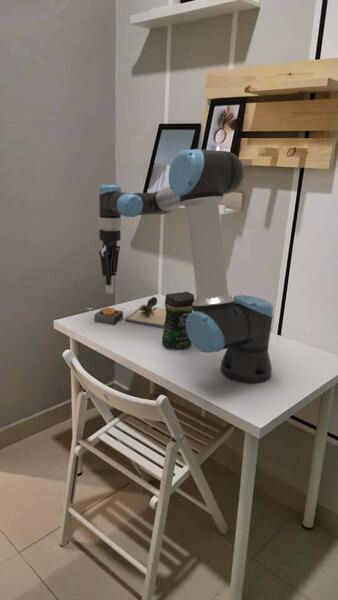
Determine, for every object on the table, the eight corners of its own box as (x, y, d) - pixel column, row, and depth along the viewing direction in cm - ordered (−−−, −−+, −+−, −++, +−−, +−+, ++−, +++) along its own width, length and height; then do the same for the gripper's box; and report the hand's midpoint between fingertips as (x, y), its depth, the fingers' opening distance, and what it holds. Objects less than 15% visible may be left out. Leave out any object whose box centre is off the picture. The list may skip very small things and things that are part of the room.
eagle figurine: (161, 315, 180) (161, 304, 188) (152, 301, 177) (152, 290, 185) (144, 324, 182) (145, 312, 190) (134, 310, 179) (135, 299, 187)
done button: (111, 318, 176) (111, 312, 175) (100, 316, 177) (100, 310, 176) (116, 315, 180) (117, 308, 179) (105, 313, 181) (106, 307, 181)
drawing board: (164, 328, 174) (164, 325, 173) (124, 321, 178) (124, 319, 178) (179, 314, 190) (179, 311, 190) (142, 308, 195) (142, 305, 194)
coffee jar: (171, 352, 153) (174, 298, 148) (158, 343, 160) (161, 291, 154) (195, 347, 159) (199, 294, 153) (182, 339, 165) (185, 288, 159)
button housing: (113, 325, 174) (114, 317, 173) (94, 321, 177) (94, 314, 176) (122, 318, 181) (122, 311, 181) (103, 315, 184) (103, 308, 183)
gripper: (108, 226, 176) (108, 287, 182) (92, 230, 164) (92, 295, 171) (127, 227, 173) (126, 289, 180) (111, 232, 162) (111, 298, 168)
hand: (109, 292), depth 175 cm, fingers closed
